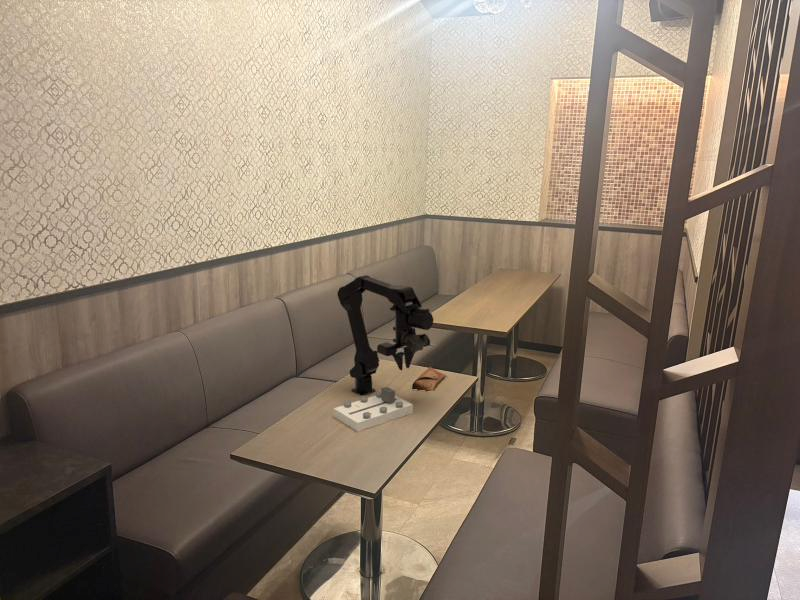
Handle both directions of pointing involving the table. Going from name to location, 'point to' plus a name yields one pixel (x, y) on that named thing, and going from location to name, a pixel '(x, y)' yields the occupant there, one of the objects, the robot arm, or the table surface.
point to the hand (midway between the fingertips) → (404, 369)
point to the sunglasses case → (428, 380)
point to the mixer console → (371, 411)
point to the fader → (387, 395)
